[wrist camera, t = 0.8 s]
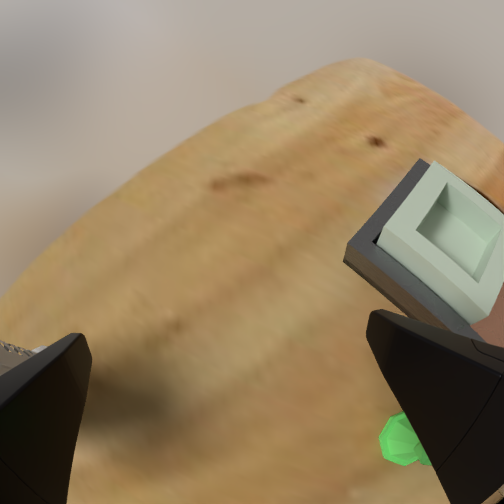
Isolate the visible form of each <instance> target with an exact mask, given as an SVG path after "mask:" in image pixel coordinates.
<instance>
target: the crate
mask: <svg viewBox="0 0 504 504" xmlns="http://www.w3.org/2000/svg"><path fill="white" fill-rule="evenodd" d="M376 246H378V247H379V248H380V249H382V250H383V251H384V252H385V253H387V254H388V255H389V256H390V257H392V258H393V259H394V260H395V261H397V262H398V263H399V264H400V265H401V266H403V267H404V268H405V269H406V270H407V271H409V272H410V273H411V274H412V275H413V276H415V277H416V278H417V279H418V280H419V281H421V282H422V283H423V284H424V285H425V286H426V287H427V288H429V289H430V290H431V291H432V292H433V293H434V294H436V295H437V296H438V297H439V298H440V299H441V300H442V301H443V302H444V303H446V304H447V305H448V306H449V307H450V308H451V309H452V310H453V311H454V312H455V313H457V314H458V315H459V316H460V317H461V318H462V319H463V320H464V321H465V322H466V323H467V324H468V325H469V326H470V325H472V324H474V323H476V322H478V321H480V320H482V319H484V318H486V317H487V316H489V314H490V312H491V309H492V307H493V305H494V303H495V301H496V299H497V296H498V294H499V292H500V289H501V287H502V285H503V282H504V215H503V214H502V213H501V212H500V211H499V210H498V209H497V208H495V207H494V206H493V205H492V204H491V203H490V202H488V201H487V200H486V199H485V198H484V197H482V196H481V195H480V194H479V193H477V192H476V191H475V190H474V189H472V188H471V187H470V186H469V185H467V184H466V183H465V182H463V181H462V180H461V179H459V178H458V177H457V176H455V175H454V174H453V173H451V172H450V171H449V170H447V169H446V168H444V167H443V166H441V165H440V164H439V163H437V162H436V161H434V162H433V163H432V164H431V166H430V167H429V168H428V170H427V171H426V173H425V174H424V175H423V177H422V178H421V179H420V181H419V182H418V183H417V185H416V186H415V187H414V189H413V190H412V191H411V193H410V194H409V195H408V196H407V198H406V199H405V200H404V202H403V203H402V204H401V205H400V207H399V208H398V209H397V211H396V212H395V213H394V214H393V216H392V217H391V218H390V219H389V221H388V222H387V223H386V224H385V225H384V227H383V230H382V232H381V235H380V237H379V239H378V242H377V244H376Z"/></svg>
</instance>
